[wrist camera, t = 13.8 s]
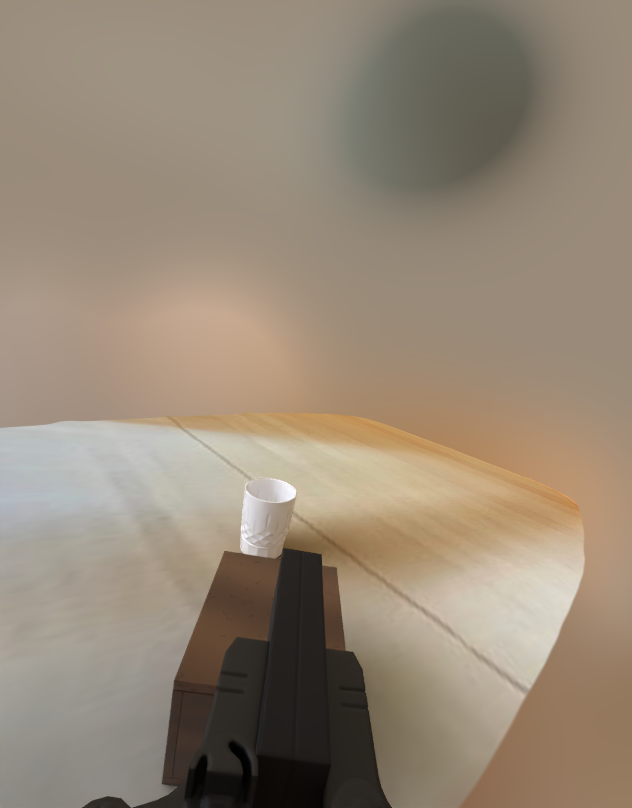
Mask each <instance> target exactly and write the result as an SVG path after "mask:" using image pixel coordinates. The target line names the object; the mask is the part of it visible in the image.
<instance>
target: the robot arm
mask: <svg viewBox="0 0 632 808" xmlns="http://www.w3.org/2000/svg"><path fill="white" fill-rule="evenodd" d="M82 808H131V807H130V806H129V805H127V804H126V803H125V802H124V801H123V800H122V799H121V798H115V797H109V796H107V797H103V798H100V799H97V800H93V801H91V802H90V803H88V804H87V805H85V806H84V807H82ZM133 808H392V807H391V806H390V804H389V802H388V801H387V799H386V797H385V795H384V792H383V790H382V788H381V784H380V780H379V776H378V769H377V763H376V756H375V749H374V743H373V736H372V729H371V723H370V716H369V710H368V703H367V696H366V693H365V683H364V676H363V670H362V668H361V666H360V664H359V662H358V660H357V658H356V656H355V655H354V653H353V652H349V651H342V650H335V649H328V648H326V640H325V618H324V597H323V576H322V554H317V553H311V552H304V551H298V550H292V549H285V548H283V551H282V556H281V561H280V566H279V572H278V577H277V582H276V588H275V593H274V598H273V604H272V609H271V616H270V624H269V631H268V638H267V641H263V640H256V639H249V638H242V637H236V638H235V640H234V641H233V642H232V644H231V645H230V646H229V648H228V649H227V650H226V652H225V656H224V659H223V663H222V667H221V671H220V675H219V678H218V682H217V686H216V690H215V693H214V697H213V701H212V705H211V709H210V712H209V716H208V720H207V724H206V728H205V731H204V735H203V739H202V743H201V747H200V748H199V749H198V750H197V751H196V753H195V755H194V757H193V759H192V762H191V764H190V766H189V769H188V776H187V778H186V779H185V780H184V782H183V783H182V784H181V785H180V786H179V787H178V788H177V789H175V790H174V791H173V792H171V793H170V794H169V795H167V796H165V797H163V798H160V799H158V800H156V801H152V802H149V803H146V804H143V805H140V806H137V807H133Z"/></svg>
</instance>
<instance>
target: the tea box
mask: <svg viewBox="0 0 632 808" xmlns="http://www.w3.org/2000/svg"><path fill="white" fill-rule="evenodd" d="M213 697H214V695H213V694H206V693H198V692H190V691H182V690H174V689H173V695H172V703H171V711H170V720H169V728H168V737H167V745H166V753H165V762H164V770H163V778H162V784H168V785H177V786H180V785H181V784H182V783H183V782H184V780H185V779H186V778H187V776H188V769H189V766H190V764H191V762H192V759H193V757H194V755H195V753H196V751H197V750H198V749H199V748H200V747H201V743H202V739H203V735H204V731H205V728H206V724H207V720H208V716H209V712H210V709H211V705H212V701H213Z"/></svg>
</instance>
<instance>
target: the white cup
mask: <svg viewBox="0 0 632 808" xmlns="http://www.w3.org/2000/svg"><path fill="white" fill-rule="evenodd" d="M296 496H297V491H296V489H295V488H294V487H293V486H292V485H290V484H289V483H287V482H284V481H282V480H278V479H273V478H258V479H254V480H251V481H249V482H248V483H247V484H246V485H245V491H244V501H243V511H242V524H241V539H240V547H241V551H242V552H243V553H244V554H248V555H254V556H261V557H268V558H274V559H276V558H277V557H278V556H280V555H281V554H282V550H283V547H284V543H285V539H286V537H287V533H288V529H289V526H290V522H291V517H292V513H293V509H294V504H295V500H296Z"/></svg>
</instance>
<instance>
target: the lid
mask: <svg viewBox="0 0 632 808" xmlns="http://www.w3.org/2000/svg"><path fill="white" fill-rule="evenodd" d="M280 561H281V559H274V558H268V557H261V556H254V555H248V554H241V553H234V552H228V551H224V554H223V556H222V559H221V562H220V564H219V567H218V569H217V572H216V574H215V577H214V580H213V582H212V585H211V587H210V590H209V592H208V595H207V598H206V600H205V603H204V605H203V608H202V610H201V613H200V616H199V618H198V621H197V623H196V626H195V628H194V631H193V633H192V636H191V639H190V641H189V644H188V646H187V649H186V651H185V654H184V657H183V659H182V662H181V664H180V667H179V669H178V672H177V675H176V677H175V680H174V687H173V689H174V690H182V691H190V692H198V693H206V694H213V695H214V693H215V690H216V686H217V682H218V678H219V675H220V671H221V667H222V663H223V659H224V656H225V652H226V650H227V649H228V648H229V646H230V645H231V644H232V642H233V641H234V640H235V638H236V637H242V638H249V639H256V640H263V641H267V638H268V631H269V624H270V616H271V609H272V604H273V598H274V593H275V588H276V582H277V577H278V572H279V566H280ZM322 576H323V597H324V618H325V640H326V648H328V649H335V650H342V651H346V650H345V641H344V632H343V623H342V614H341V604H340V595H339V586H338V577H337V568H335V567H328V566H322Z"/></svg>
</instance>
